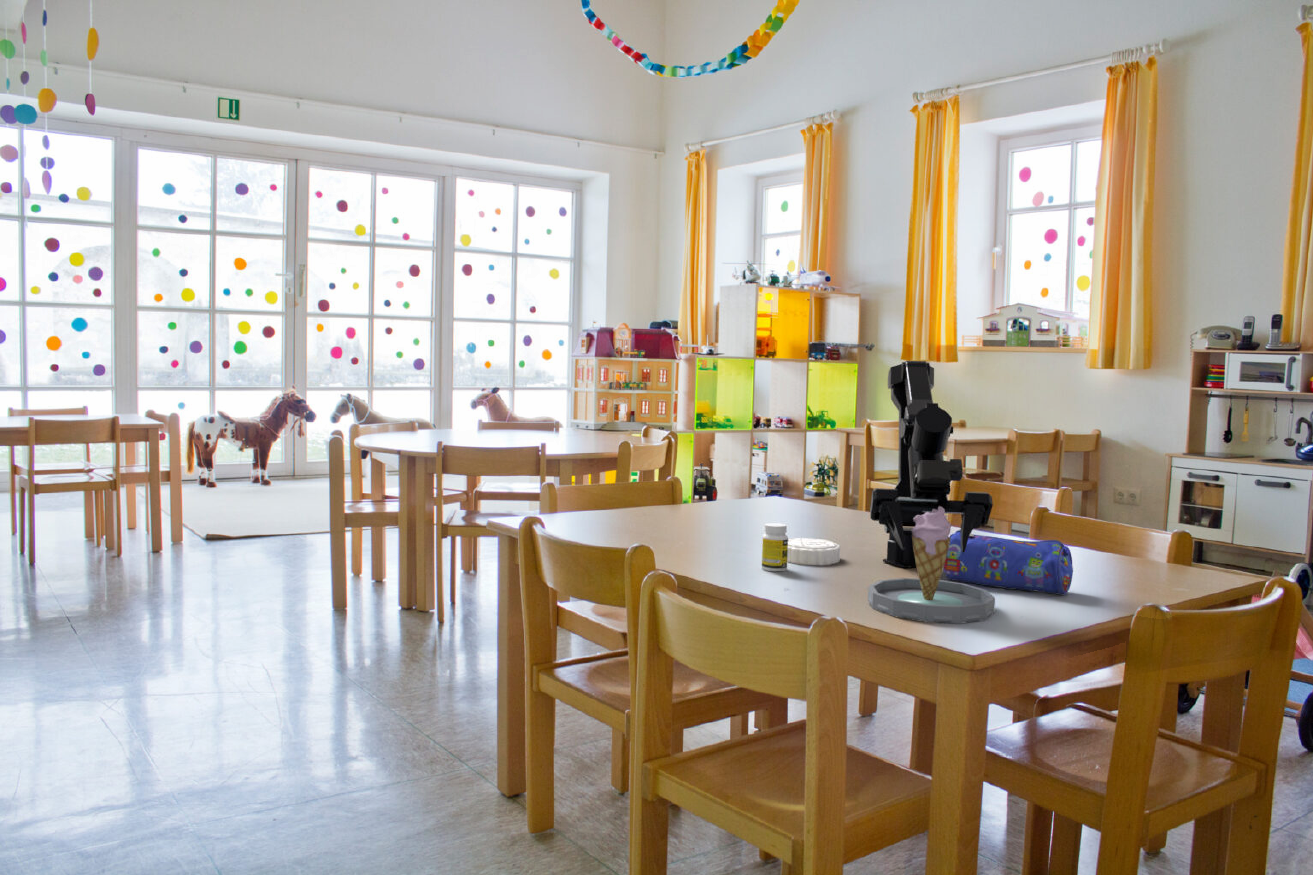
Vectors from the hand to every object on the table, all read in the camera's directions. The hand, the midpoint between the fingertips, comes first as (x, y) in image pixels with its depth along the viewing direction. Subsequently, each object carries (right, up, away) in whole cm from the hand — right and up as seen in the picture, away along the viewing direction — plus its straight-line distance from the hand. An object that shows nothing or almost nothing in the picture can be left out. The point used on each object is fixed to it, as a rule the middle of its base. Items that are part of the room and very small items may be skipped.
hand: (933, 549), depth 152 cm
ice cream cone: (0, -8, +2) cm, 9 cm away
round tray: (0, -9, +2) cm, 10 cm away
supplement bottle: (-22, -7, +28) cm, 36 cm away
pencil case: (+18, -9, +18) cm, 27 cm away
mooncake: (-13, -7, +39) cm, 42 cm away
